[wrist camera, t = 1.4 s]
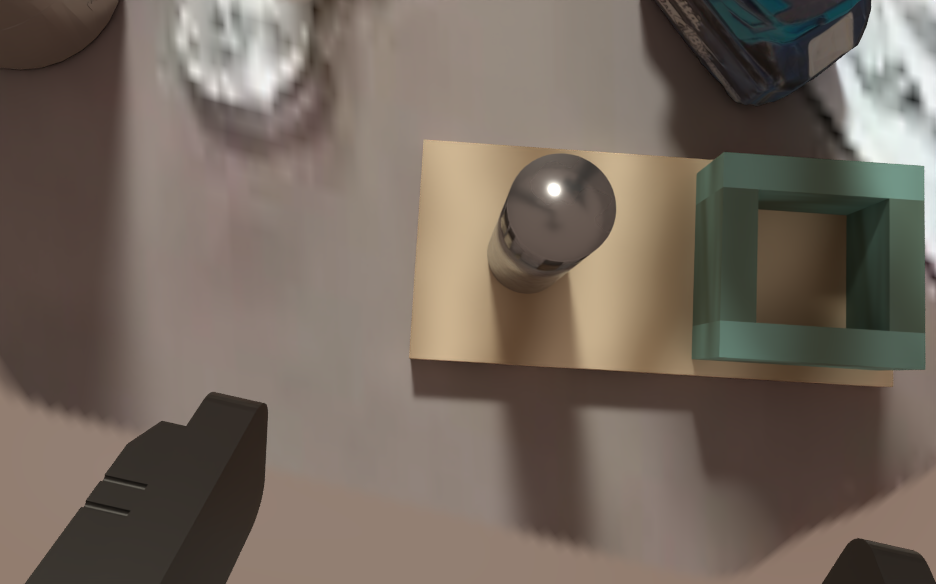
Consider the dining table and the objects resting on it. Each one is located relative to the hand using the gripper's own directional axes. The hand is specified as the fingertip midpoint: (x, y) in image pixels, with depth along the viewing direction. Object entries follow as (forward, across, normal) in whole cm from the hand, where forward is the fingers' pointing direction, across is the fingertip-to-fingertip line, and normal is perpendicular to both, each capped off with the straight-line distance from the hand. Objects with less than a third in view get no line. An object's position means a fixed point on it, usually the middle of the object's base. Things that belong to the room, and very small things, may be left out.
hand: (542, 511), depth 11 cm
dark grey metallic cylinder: (+24, 0, +9) cm, 26 cm away
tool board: (+26, -6, +9) cm, 28 cm away
